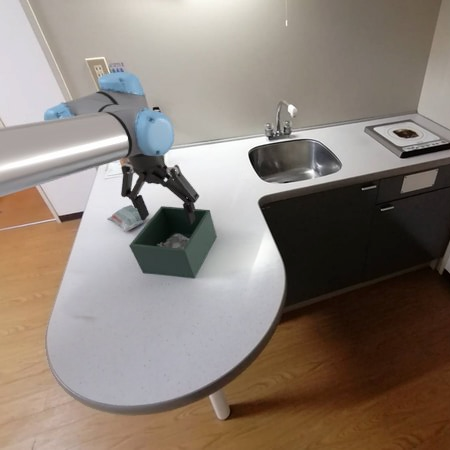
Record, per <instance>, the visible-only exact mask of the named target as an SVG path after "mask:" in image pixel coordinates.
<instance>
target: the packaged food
mask: <svg viewBox="0 0 450 450" xmlns="http://www.w3.org/2000/svg"><path fill="white" fill-rule="evenodd" d="M106 220H107V221H109V222H112V223H114V224H116V225H117V226H119V227H120V228H121V229H122V231H123V233H126V232H128V231H130V230H132V229H134V228H136V227H137V226H139V225H141V224H143V223H147V221H149V218H148V217H147V218H146V219H145V220H141V217H140V215H139V213H138V210H137V209H135V207H134V206H133V204H130V205H127V206H124V207H122V208H119V209H118V210H116V211H115V212H114V213H112V214H111V216H109V217H107V218H106Z"/></svg>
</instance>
